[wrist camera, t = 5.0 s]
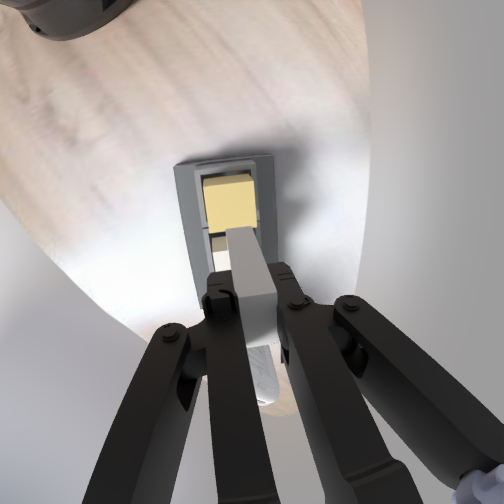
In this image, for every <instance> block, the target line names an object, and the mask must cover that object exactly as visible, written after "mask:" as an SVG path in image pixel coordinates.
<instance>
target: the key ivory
mask: <svg viewBox="0 0 504 504" xmlns="http://www.w3.org/2000/svg"><path fill="white" fill-rule="evenodd" d="M212 253H213V259H214V265H215V271H216V272H218V271H225V270H230V262H229V255H228V247H227V239H226V236H223V237H216V238H212Z"/></svg>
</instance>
